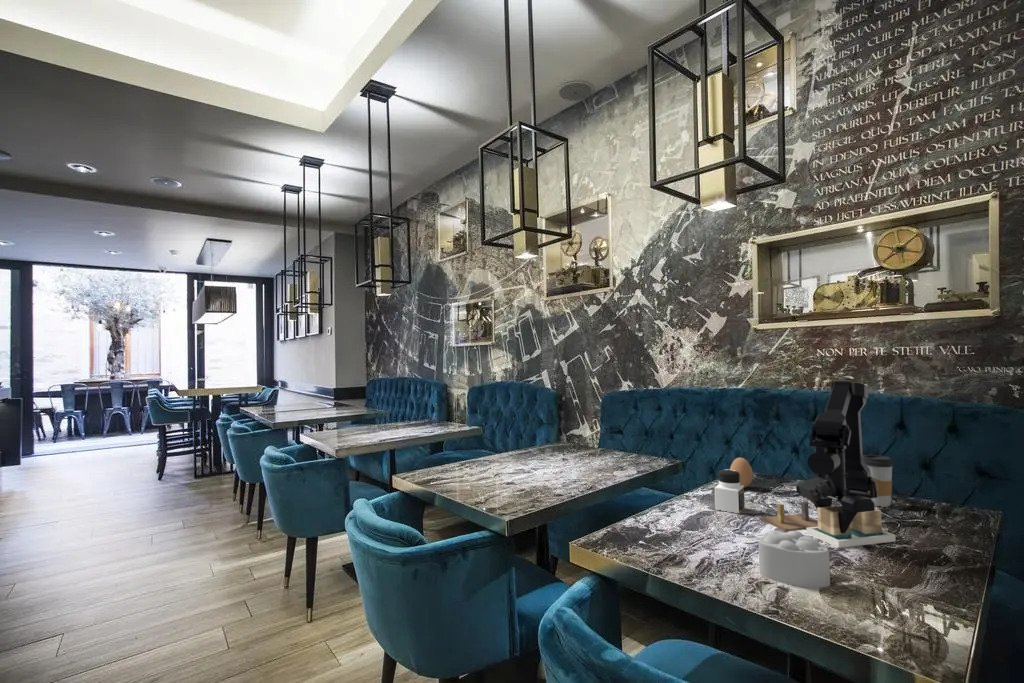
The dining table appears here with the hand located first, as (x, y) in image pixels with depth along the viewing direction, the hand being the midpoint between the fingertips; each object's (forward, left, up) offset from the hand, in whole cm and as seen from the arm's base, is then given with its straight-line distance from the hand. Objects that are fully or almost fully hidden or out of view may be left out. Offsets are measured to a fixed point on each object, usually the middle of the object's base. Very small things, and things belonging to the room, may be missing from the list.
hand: (834, 529), depth 126 cm
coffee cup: (-38, -22, -3) cm, 44 cm away
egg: (-11, -51, -3) cm, 52 cm away
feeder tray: (-5, 0, -3) cm, 6 cm away
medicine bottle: (+9, -30, -3) cm, 31 cm away
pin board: (+1, -13, -3) cm, 13 cm away
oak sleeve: (0, 0, -2) cm, 2 cm away
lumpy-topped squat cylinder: (+25, +14, -3) cm, 29 cm away
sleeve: (-9, 0, -2) cm, 10 cm away
